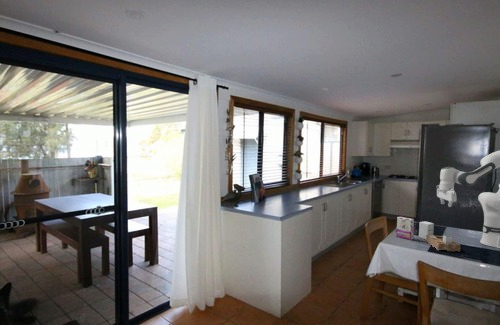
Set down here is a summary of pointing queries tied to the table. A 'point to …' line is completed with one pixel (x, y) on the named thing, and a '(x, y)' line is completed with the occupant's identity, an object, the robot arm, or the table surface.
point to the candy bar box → (405, 228)
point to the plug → (447, 239)
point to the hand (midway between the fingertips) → (446, 205)
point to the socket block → (442, 243)
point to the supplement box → (425, 229)
